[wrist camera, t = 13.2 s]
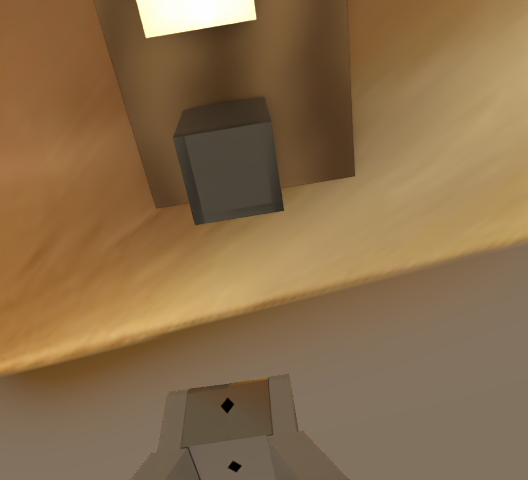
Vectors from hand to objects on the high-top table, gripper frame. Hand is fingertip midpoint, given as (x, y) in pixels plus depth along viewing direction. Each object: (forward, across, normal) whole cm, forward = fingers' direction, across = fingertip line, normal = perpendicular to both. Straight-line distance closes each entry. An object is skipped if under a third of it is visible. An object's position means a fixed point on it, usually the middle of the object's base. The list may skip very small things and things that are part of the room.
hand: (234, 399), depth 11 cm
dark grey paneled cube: (+21, 0, 0) cm, 21 cm away
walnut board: (+24, -1, -5) cm, 24 cm away
